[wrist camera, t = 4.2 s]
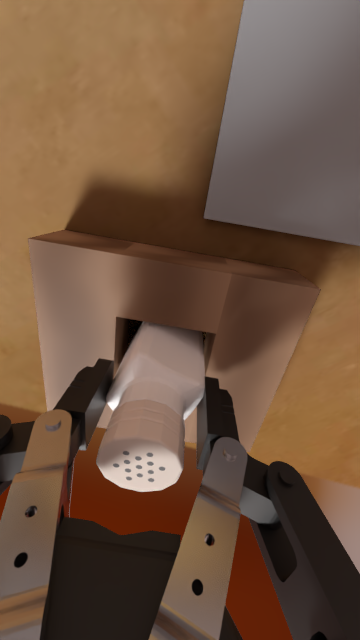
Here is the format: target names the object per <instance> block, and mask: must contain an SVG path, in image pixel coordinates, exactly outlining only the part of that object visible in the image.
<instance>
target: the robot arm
mask: <svg viewBox="0 0 360 640" xmlns="http://www.w3.org/2000/svg"><path fill="white" fill-rule="evenodd" d="M113 374H114V361H113V360H107V359H101V358H99V359H98V360H97V362H96V364H95V365H94V367H89V366H86V367H85V368H83V369H82V370H81V371H79V372H78V373H77V375H76V376H75V378H74V380H73V381H72V382H71V384H70V386H69V387H68V388H67V390H66V391H65V393H64V394H63V395H62V397H61V398H60V400H59V401H58V403H57V404H56V406H55V407H54V409H53V410H51V411H48V412H45V413H43V414H42V415H40V417H38V418H37V419H36V421H32V422H25V423H16V424H11V420H10V419H9V418H8V417H7V416H4V415H0V495H1V494H2V493H3V492H4V491H5V490H6V489H7V487H8V486H9V485H10V484H11V483H12V484H11V487H10V491H9V494H8V498H7V501H6V505H5V508H4V511H3V515H2V518H1V521H0V640H243V639H242V637H241V635H240V633H239V631H238V629H237V627H236V625H235V623H234V621H233V620H232V618H231V616H230V614H229V612H228V610H227V608H226V606H225V601H226V595H227V590H228V583H229V577H230V572H231V567H232V561H233V555H234V549H235V543H236V537H237V531H238V526H239V520H240V513H241V514H243V515H245V516H247V517H249V520H250V523H251V526H252V528H253V531H254V534H255V536H256V539H257V542H258V544H259V547H260V550H261V553H262V556H263V558H264V561H265V564H266V566H267V569H268V572H269V575H270V577H271V580H272V583H273V586H274V588H275V591H276V594H277V596H278V599H279V602H280V604H281V607H282V610H283V613H284V615H285V618H286V621H287V624H288V626H289V629H290V632H291V635H292V637H293V640H360V574H359V572H358V570H357V569H356V567H355V565H354V564H353V562H352V561H351V559H350V557H349V555H348V554H347V552H346V550H345V549H344V547H343V545H342V544H341V542H340V540H339V539H338V537H337V535H336V534H335V532H334V530H333V529H332V527H331V525H330V524H329V522H328V520H327V519H326V517H325V515H324V514H323V512H322V510H321V509H320V507H319V506H318V504H317V502H316V500H315V499H314V497H313V496H312V494H311V492H310V490H309V489H308V487H307V485H306V484H305V482H304V480H303V479H302V477H301V476H300V474H299V473H298V472H297V471H296V470H295V469H294V468H293V467H292V466H290V465H289V464H287V463H284V462H280V461H275V462H272V463H271V464H270V465H269V466H268V465H266V464H264V463H262V462H260V461H258V460H256V459H254V458H252V457H251V456H249V455H248V454H247V452H246V450H245V448H244V447H243V445H242V444H241V443H240V441H239V435H238V430H237V424H236V418H235V415H234V413H235V412H234V408H233V401H232V397H231V396H230V394H229V392H228V391H227V390H224V389H220V388H219V380H218V378H213V377H207V376H205V390H204V395H203V398H202V399H201V401H200V402H199V403H198V405H197V469H200V470H203V480H202V483H201V486H200V489H199V492H198V495H197V498H196V501H195V503H194V507H193V509H192V512H191V515H190V518H189V521H188V524H187V527H186V530H185V533H184V536H183V539H182V542H181V545H180V535H177V534H170V533H164V532H158V531H147V532H140V533H135V534H128V535H118V534H116V533H114V532H112V531H110V530H108V529H107V528H105V527H103V526H101V525H99V524H97V523H95V522H93V521H88V520H82V519H76V518H69V510H70V497H71V488H72V477H73V467H74V458H75V456H76V454H77V452H78V449H81V450H86V449H87V446H88V444H89V442H90V440H91V437H92V435H93V433H94V431H95V428H96V426H97V424H98V422H99V419H100V417H101V415H102V412H103V410H104V408H105V406H106V403H107V401H106V395H107V393H108V391H109V389H110V386H111V384H112V382H113Z"/></svg>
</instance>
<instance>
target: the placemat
mask: <svg viewBox="0 0 360 640" xmlns="http://www.w3.org/2000/svg"><path fill="white" fill-rule="evenodd" d="M203 218H205V219H211V220H217V221H222V222H228V223H233V224H239V225H245V226H250V227H256V228H262V229H267V230H273V231H278V232H284V233H290V234H295V235H301V236H307V237H312V238H318V239H323V240H329V241H335V242H340V243H346V244H352V245H357V246H360V0H244V3H243V9H242V14H241V19H240V25H239V30H238V35H237V41H236V46H235V51H234V57H233V62H232V67H231V73H230V78H229V84H228V89H227V94H226V100H225V105H224V110H223V116H222V121H221V126H220V132H219V137H218V142H217V148H216V153H215V158H214V164H213V169H212V174H211V180H210V185H209V190H208V196H207V201H206V206H205V212H204V217H203Z"/></svg>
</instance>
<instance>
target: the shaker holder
mask: <svg viewBox="0 0 360 640" xmlns="http://www.w3.org/2000/svg"><path fill="white" fill-rule="evenodd" d="M28 243H29V252H30V261H31V269H32V278H33V287H34V296H35V305H36V314H37V323H38V332H39V341H40V349H41V358H42V367H43V376H44V385H45V394H46V403H47V412H48V411H51V410H53V409H54V407H55V406H56V404H57V403H58V401H59V400H60V398H61V397H62V395H63V394H64V393H65V391H66V390H67V388H68V387H69V386H70V384H71V382H72V381H73V380H74V378H75V376H76V375H77V373H78V372H79V371H81V370H82V369H83V368H85V367H86V366H89V367H94V365H95V364H96V362H97V360H98V359H99V358H101V359H107V360H113V361H114V374H113V379H114V377H115V375H116V373H117V371H118V368H119V366H120V364H121V362H122V359H123V357H124V355H125V353H126V351H127V348H128V336H129V323H130V319H133V320H139V321H144V322H150V323H156V324H162V325H168V326H174V327H180V328H185V329H191V330H197V331H203V332H207V334H206V338H205V342H204V366H205V376H207V377H213V378H218V380H219V388H220V389H224V390H227V391H228V392H229V394H230V396H231V397H232V401H233V408H234V412H235V413H234V415H235V418H236V424H237V430H238V435H239V441H240V443H241V444H242V445H243V447H244V448H245V450H246V451H247V452H250V450H251V447H252V445H253V443H254V441H255V438H256V436H257V434H258V432H259V429H260V427H261V425H262V422H263V420H264V418H265V416H266V413H267V411H268V409H269V406H270V404H271V402H272V400H273V397H274V395H275V393H276V391H277V388H278V386H279V384H280V381H281V379H282V377H283V375H284V372H285V370H286V368H287V365H288V363H289V361H290V359H291V356H292V354H293V352H294V349H295V347H296V345H297V343H298V340H299V338H300V336H301V334H302V331H303V329H304V327H305V324H306V322H307V320H308V318H309V315H310V313H311V311H312V308H313V306H314V304H315V302H316V299H317V297H318V295H319V293H320V290H321V289H319V288H318V287H317V286H315V285H314V284H313V283H311V282H310V281H309V280H307V279H306V278H305V277H303V276H302V275H301V274H299V273H298V272H297V271H295V270H291V269H285V268H279V267H273V266H268V265H262V264H256V263H251V262H245V261H239V260H234V259H228V258H222V257H216V256H211V255H205V254H199V253H194V252H188V251H182V250H177V249H171V248H165V247H159V246H154V245H148V244H142V243H137V242H131V241H125V240H120V239H114V238H108V237H102V236H97V235H91V234H85V233H80V232H74V231H68V230H61V231H57V232H53V233H48V234H44V235H40V236H36V237H32V238H28ZM112 413H113V410H112V409H111V408H110V407H109V405H108V404H107V403H106V406H105V408H104V410H103V412H102V415H101V417H100V419H99V422H98V424H97V426H96V427H100V428H106V429H107V426H108V424H109V422H110V418H111V415H112ZM184 422H185V439H184V441H186V442H192V443H197V406H196V408H195V409H194V410H193V411H192V413H191V414H190V415H189V416H188V417H187V418H186V419H185V421H184Z"/></svg>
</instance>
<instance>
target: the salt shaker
mask: <svg viewBox="0 0 360 640" xmlns="http://www.w3.org/2000/svg"><path fill="white" fill-rule="evenodd" d="M204 390H205V366H204V346H203V333H202V332H201V331H197V330H191V329H185V328H180V327H174V326H168V325H162V324H156V323H150V322H144V321H143V322H142V324H141V325H140V327H139V328H138V330H137V332H136V333H135V335H134V337H133V338H132V340H131V342H130V344H129V346H128V348H127V351H126V353H125V355H124V357H123V359H122V362H121V364H120V366H119V368H118V371H117V373H116V375H115V377H114V379H113V382H112V384H111V386H110V389H109V391H108V393H107V395H106V401H107V404H108V405H109V407H110V408H111V409H112V410H113V413H112V415H111V418H110V422H109V424H108V426H107V429H106V432H105V434H104V437H103V439H102V442H101V445H100V447H99V452H98V456H97V461H96V463H97V465H98V467H99V469H100V470H101V472H102V473H103V475H104V477H105V478H107V479H109V480H110V481H112V482H113V483H115V484H117V485H118V486H120V487H122V488H127V489H131V490H135V491H140V492H145V491H157V490H163V489H164V488H166V487H168V486H170V485H172V484H174V483H176V482H177V480H178V478H179V476H180V474H181V472H182V470H183V466H184V445H185V441H184V439H185V422H184V421H185V419H186V418H187V417H188V416H189V415H190V414H191V413H192V411H193V410H194V409H195V408H196V406H197V405H198V403H199V402H200V401H201V399H202V398H203V395H204Z"/></svg>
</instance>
